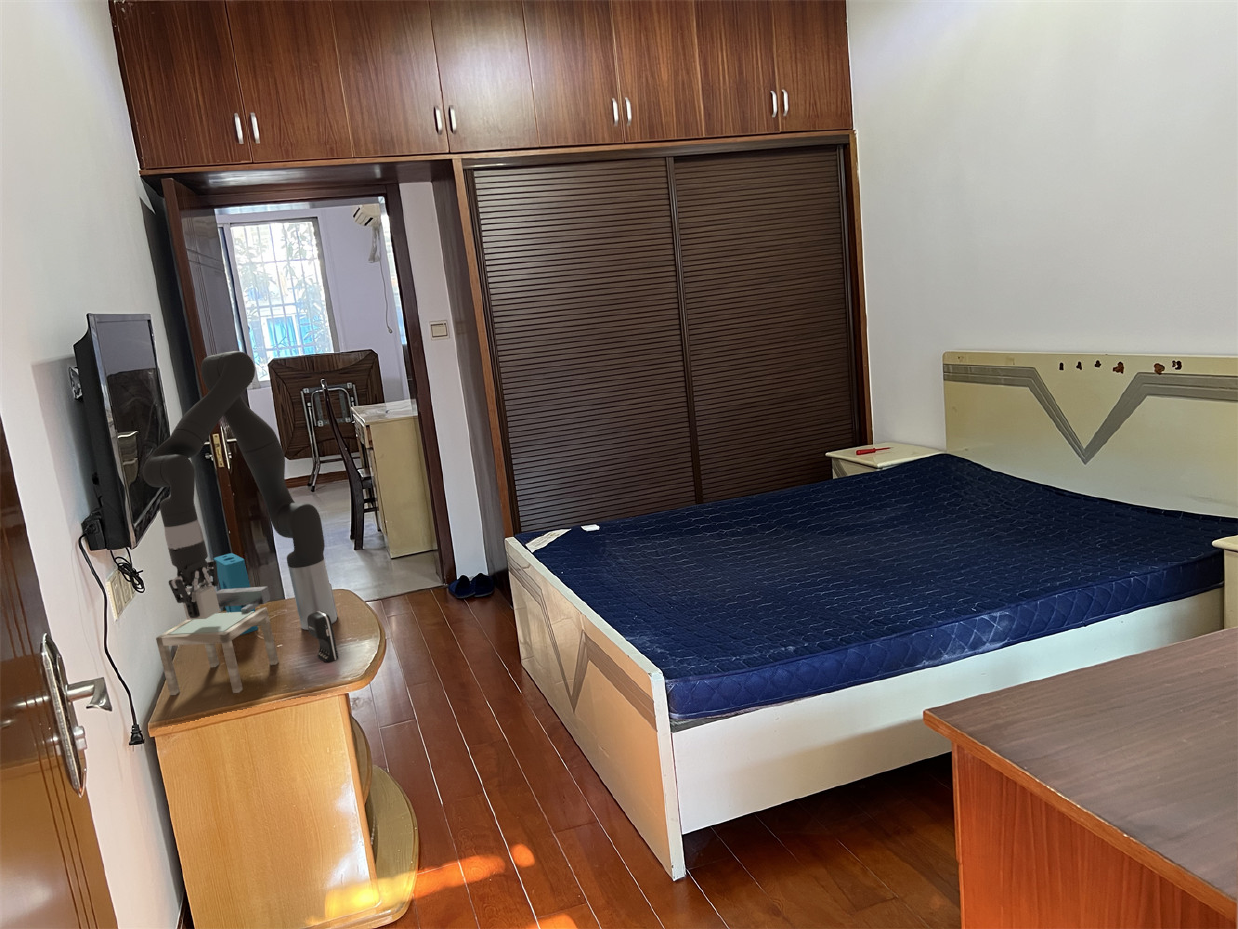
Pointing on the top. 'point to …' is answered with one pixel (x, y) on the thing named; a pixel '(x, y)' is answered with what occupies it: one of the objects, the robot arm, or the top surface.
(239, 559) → the block
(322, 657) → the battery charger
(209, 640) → the trapdoor frame
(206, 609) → the stone block
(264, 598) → the trapdoor
